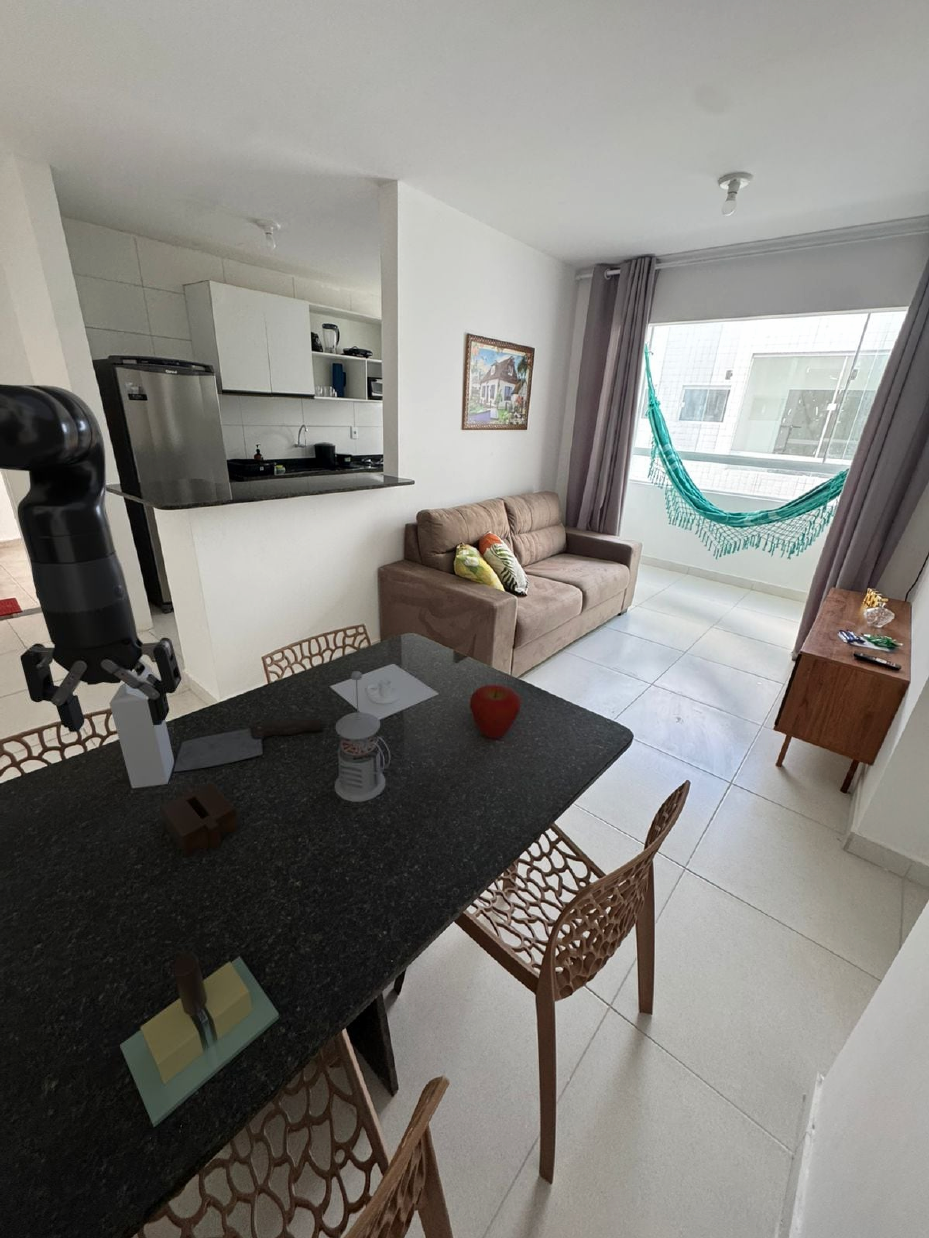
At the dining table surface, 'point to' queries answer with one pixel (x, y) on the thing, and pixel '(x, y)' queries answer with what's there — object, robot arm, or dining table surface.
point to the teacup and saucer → (384, 691)
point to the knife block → (199, 818)
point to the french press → (359, 755)
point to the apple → (494, 709)
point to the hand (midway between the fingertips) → (119, 724)
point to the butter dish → (205, 1062)
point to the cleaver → (237, 743)
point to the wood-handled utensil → (192, 993)
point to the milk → (141, 739)
